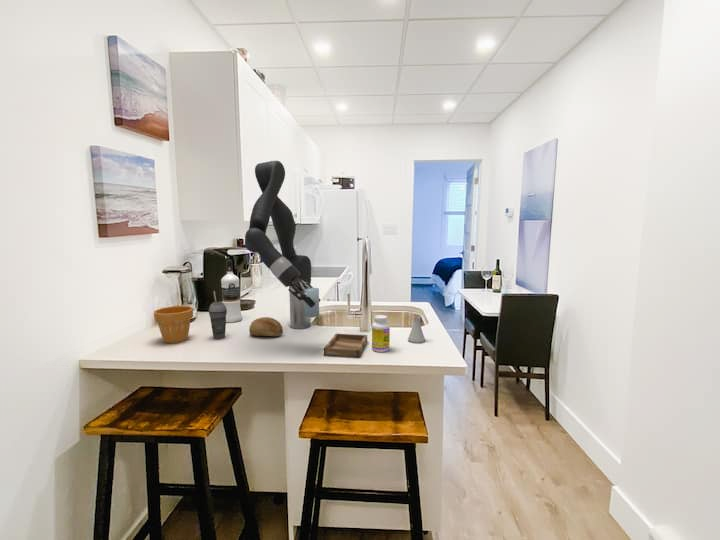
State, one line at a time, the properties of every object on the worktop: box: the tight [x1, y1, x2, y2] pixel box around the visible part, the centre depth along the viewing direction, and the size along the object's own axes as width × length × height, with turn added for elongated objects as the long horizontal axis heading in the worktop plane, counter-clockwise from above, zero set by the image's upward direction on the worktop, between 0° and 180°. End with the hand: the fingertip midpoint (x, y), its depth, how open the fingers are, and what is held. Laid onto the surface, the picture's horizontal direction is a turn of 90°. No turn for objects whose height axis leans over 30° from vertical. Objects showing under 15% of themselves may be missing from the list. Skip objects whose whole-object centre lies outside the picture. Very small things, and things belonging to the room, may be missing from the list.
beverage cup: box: [208, 290, 227, 340], centre depth 152 cm, size 7×7×20 cm
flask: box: [407, 315, 426, 344], centre depth 147 cm, size 7×7×10 cm
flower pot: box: [153, 305, 194, 344], centre depth 150 cm, size 14×14×13 cm
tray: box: [323, 333, 368, 359], centre depth 139 cm, size 18×13×3 cm
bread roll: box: [248, 316, 284, 337], centre depth 155 cm, size 10×15×8 cm, turn 78°
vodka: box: [220, 260, 243, 324], centre depth 178 cm, size 9×9×30 cm
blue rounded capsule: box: [304, 287, 320, 318], centre depth 135 cm, size 6×6×10 cm
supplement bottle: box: [371, 314, 391, 353], centre depth 137 cm, size 7×7×13 cm
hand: (316, 303), depth 135 cm, fingers closed on blue rounded capsule, 5 cm apart
